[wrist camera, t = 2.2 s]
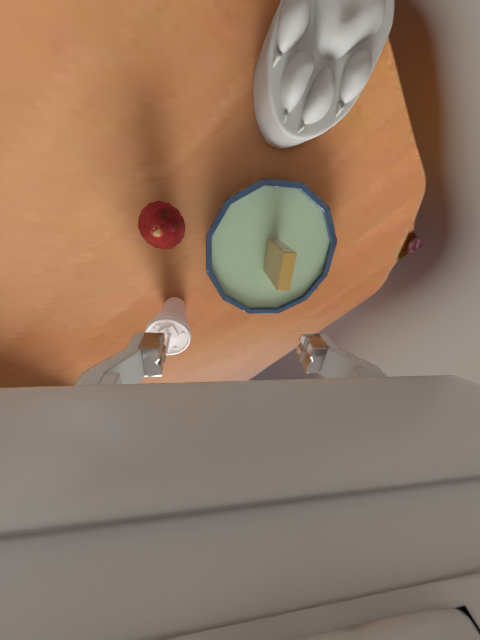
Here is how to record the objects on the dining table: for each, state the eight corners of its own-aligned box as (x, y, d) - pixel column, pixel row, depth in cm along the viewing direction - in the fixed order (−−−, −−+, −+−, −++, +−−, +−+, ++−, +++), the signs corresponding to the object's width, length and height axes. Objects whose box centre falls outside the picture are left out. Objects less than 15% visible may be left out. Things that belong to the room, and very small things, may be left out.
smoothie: (198, 297, 40) (196, 345, 28) (186, 326, 42) (179, 381, 30) (162, 284, 37) (142, 330, 26) (152, 315, 40) (130, 370, 28)
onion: (157, 190, 31) (143, 191, 24) (194, 217, 33) (191, 225, 26) (138, 227, 33) (121, 238, 26) (174, 250, 35) (167, 266, 28)
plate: (205, 173, 29) (206, 169, 22) (347, 186, 32) (389, 187, 25) (206, 309, 39) (206, 338, 32) (313, 309, 42) (336, 336, 35)
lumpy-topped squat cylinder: (362, 43, 26) (425, -12, 19) (302, 166, 31) (331, 160, 24) (288, -30, 22) (329, -133, 15) (235, 122, 28) (246, 100, 21)
